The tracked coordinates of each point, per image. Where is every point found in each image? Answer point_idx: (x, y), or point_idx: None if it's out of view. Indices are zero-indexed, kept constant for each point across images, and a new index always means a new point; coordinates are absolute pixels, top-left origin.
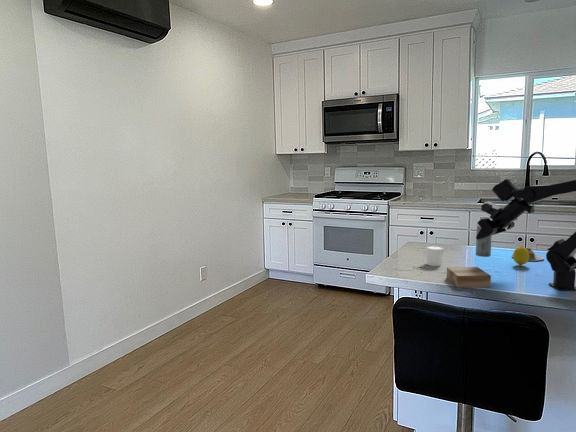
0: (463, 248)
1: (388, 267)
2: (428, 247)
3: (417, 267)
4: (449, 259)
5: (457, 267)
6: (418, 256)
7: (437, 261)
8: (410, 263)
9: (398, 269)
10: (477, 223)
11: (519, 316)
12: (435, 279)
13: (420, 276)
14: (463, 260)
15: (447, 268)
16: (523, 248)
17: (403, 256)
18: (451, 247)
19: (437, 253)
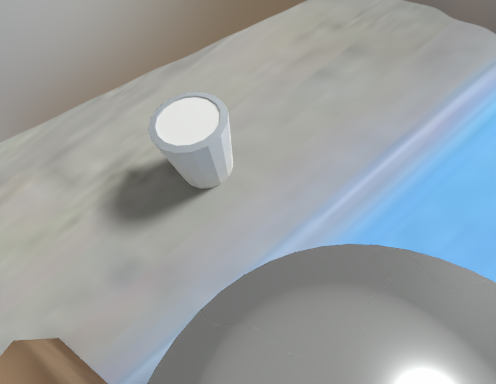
0: (484, 63)
1: (62, 133)
2: (174, 104)
3: (124, 170)
4: (311, 145)
5: (42, 380)
6: (246, 82)
7: (188, 178)
8: None
9: (60, 160)
10: (155, 372)
11: None
12: (10, 325)
13: (19, 259)
14: (352, 177)
15: (11, 348)
16: None
17: (207, 68)
18: (445, 43)
19: (172, 160)
